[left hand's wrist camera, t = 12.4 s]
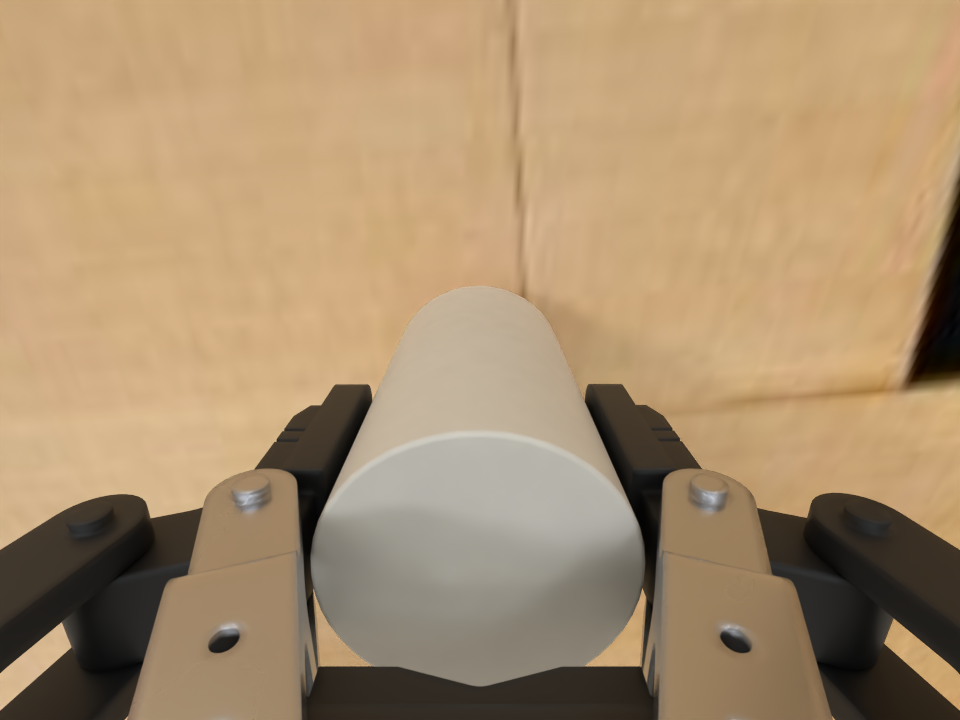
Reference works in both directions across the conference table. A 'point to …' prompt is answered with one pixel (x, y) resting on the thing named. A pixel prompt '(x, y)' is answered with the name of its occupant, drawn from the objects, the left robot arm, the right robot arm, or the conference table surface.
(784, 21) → the conference table surface
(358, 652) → the can
